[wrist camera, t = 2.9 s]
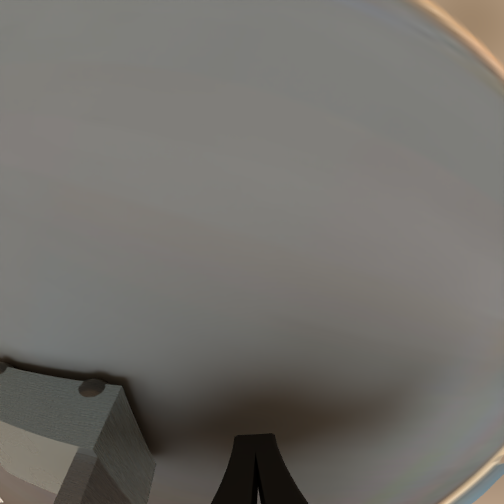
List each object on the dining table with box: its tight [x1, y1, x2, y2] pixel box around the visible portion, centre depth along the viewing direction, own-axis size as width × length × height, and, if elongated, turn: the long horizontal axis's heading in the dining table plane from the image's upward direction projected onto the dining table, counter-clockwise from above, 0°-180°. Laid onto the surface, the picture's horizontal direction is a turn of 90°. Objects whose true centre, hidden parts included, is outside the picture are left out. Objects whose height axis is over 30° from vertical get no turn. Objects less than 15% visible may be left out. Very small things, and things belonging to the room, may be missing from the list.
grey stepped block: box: [0, 362, 156, 504], centre depth 8 cm, size 8×6×6 cm
